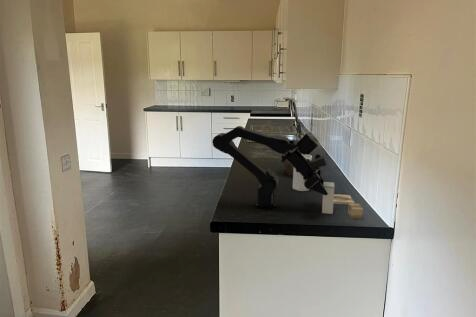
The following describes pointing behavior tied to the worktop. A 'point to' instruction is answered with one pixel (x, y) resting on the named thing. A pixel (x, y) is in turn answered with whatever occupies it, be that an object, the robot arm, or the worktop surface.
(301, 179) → the cup
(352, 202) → the trivet
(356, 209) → the oak block
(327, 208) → the tea caddy
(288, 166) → the plant pot
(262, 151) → the worktop surface
